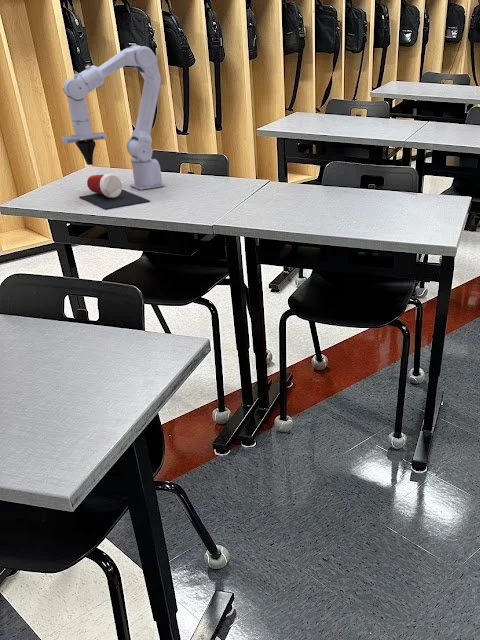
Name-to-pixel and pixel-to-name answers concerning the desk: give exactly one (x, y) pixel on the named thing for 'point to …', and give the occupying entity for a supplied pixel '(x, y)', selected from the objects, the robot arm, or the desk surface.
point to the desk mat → (114, 200)
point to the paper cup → (105, 185)
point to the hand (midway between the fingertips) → (89, 164)
